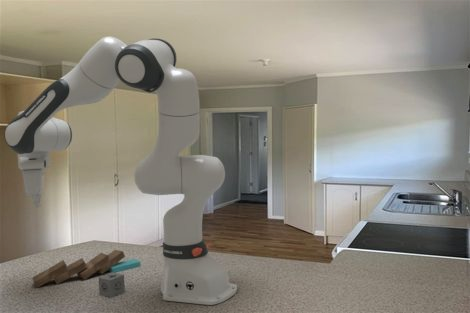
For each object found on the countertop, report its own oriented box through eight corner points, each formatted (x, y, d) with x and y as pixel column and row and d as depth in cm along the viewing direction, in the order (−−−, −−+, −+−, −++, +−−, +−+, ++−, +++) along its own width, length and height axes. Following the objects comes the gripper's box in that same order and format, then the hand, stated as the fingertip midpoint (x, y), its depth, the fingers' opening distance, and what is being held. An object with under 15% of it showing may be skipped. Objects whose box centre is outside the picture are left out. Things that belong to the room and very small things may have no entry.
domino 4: (93, 272, 138) (117, 255, 145) (102, 274, 135) (125, 256, 142) (91, 266, 137) (114, 250, 144) (99, 268, 134) (122, 251, 141)
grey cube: (111, 297, 115) (110, 280, 115) (99, 294, 118) (98, 277, 118) (124, 291, 120) (123, 274, 119) (112, 288, 122) (112, 272, 122)
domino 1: (36, 283, 129) (66, 265, 134) (37, 288, 125) (68, 269, 129) (32, 277, 129) (63, 260, 133) (33, 282, 124) (65, 263, 129)
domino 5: (107, 271, 140) (134, 264, 146) (112, 274, 136) (140, 268, 142) (106, 265, 140) (134, 258, 146) (112, 268, 136) (140, 261, 142)
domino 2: (55, 279, 132) (85, 263, 136) (56, 284, 127) (87, 267, 132) (52, 274, 131) (82, 257, 136) (53, 278, 127) (84, 261, 131)
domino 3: (78, 276, 134) (103, 257, 140) (84, 279, 130) (110, 260, 136) (75, 271, 133) (100, 252, 139) (81, 274, 130) (107, 255, 136)
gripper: (26, 161, 135) (29, 203, 135) (18, 164, 116) (21, 212, 116) (47, 160, 137) (50, 201, 137) (43, 162, 118) (46, 210, 118)
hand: (37, 206), depth 127 cm, fingers closed
